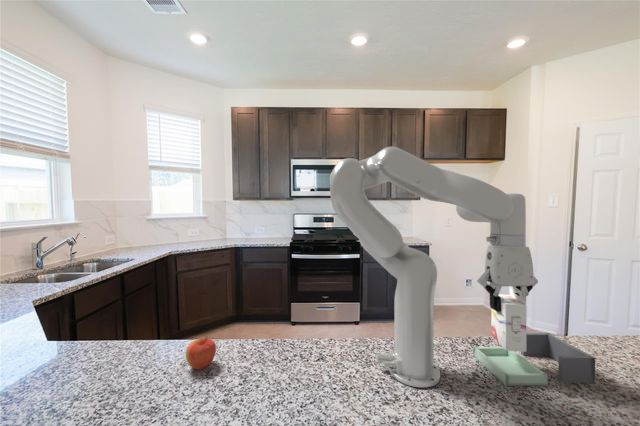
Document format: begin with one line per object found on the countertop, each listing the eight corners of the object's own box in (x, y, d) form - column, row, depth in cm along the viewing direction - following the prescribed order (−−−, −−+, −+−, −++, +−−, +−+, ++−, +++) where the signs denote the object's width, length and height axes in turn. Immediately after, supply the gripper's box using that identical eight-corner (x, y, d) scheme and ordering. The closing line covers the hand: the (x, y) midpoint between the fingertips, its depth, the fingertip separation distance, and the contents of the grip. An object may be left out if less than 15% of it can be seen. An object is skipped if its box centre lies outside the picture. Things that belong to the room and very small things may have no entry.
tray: (505, 385, 63) (505, 375, 62) (473, 355, 76) (473, 347, 75) (547, 385, 63) (547, 375, 63) (507, 355, 76) (507, 346, 76)
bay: (562, 382, 64) (562, 358, 64) (520, 353, 77) (520, 333, 77) (595, 382, 64) (595, 357, 64) (548, 353, 77) (548, 332, 77)
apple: (183, 365, 71) (182, 336, 71) (211, 356, 76) (211, 328, 76) (189, 379, 65) (189, 347, 65) (219, 368, 70) (219, 338, 70)
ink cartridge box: (489, 334, 74) (490, 282, 74) (509, 336, 73) (510, 283, 73) (504, 350, 65) (505, 291, 65) (527, 352, 64) (527, 293, 64)
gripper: (483, 243, 65) (484, 315, 65) (552, 242, 65) (552, 315, 65) (466, 239, 72) (466, 305, 73) (528, 239, 73) (528, 304, 73)
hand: (507, 309), depth 69 cm, fingers closed on ink cartridge box, 5 cm apart
